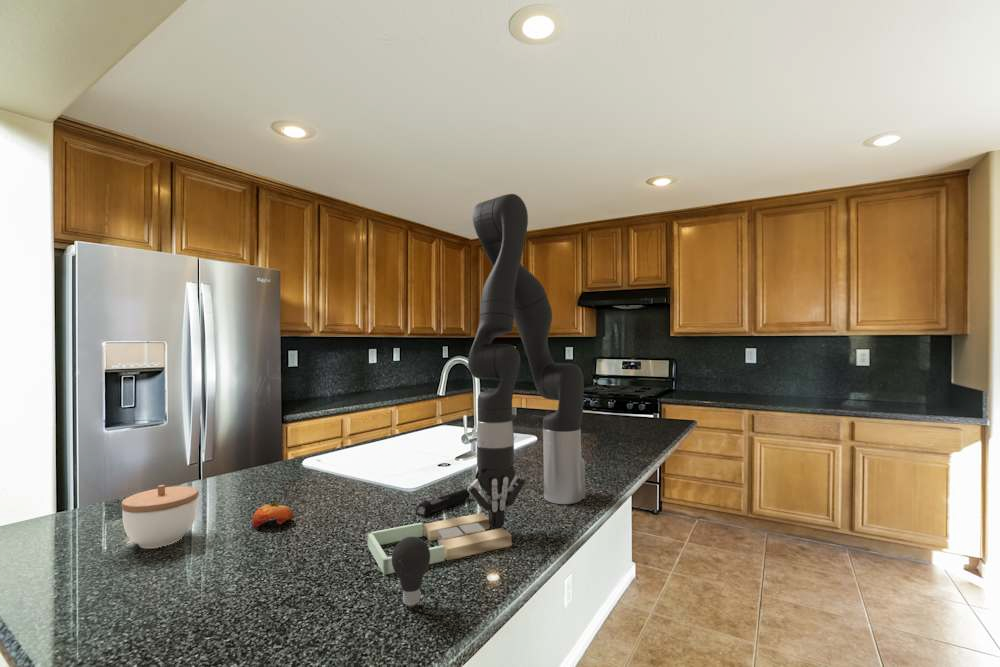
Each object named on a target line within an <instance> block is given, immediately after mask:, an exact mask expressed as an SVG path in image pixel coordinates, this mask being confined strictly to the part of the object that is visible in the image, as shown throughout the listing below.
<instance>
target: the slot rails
mask: <svg viewBox="0 0 1000 667" xmlns="http://www.w3.org/2000/svg"><path fill="white" fill-rule="evenodd" d="M473 523H478V524H479V525H481V526H482V527H483V528H484V529H485V532H480V533H475V534H471V535H466V536H461V537H457V538H452V539H447V540H443V541H440V545H443V546H444V557H445V559H446V560H447V561H452V560H455V559H460V558H464V557H468V556H472V555H473V556H474V555H477V554H482V553H485V552H490V551H494V550H499V549H503V548H507V547H512V540H513V539H512V534H511V533H510V532H508V531H507V530H505V529H504V528H503V527H502V528H499V529H490V527H491V526H490V525H489V516H486V515H485V514H484V513H482V512H479V513H474V514H470V515H469V514H468V515H465V516H464V515H463V516H459V517H454V518H449V519H443V520H438V521H433V522H428V523H422V524H423V536H425V538H426V539H427V540H428V541H430V542H433V541H437V530H442V529H447V528H453V527H457V528H458V529H459V526H462V525H467V524H473ZM440 545H439V546H440Z"/></svg>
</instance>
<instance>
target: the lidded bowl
mask: <svg viewBox="0 0 1000 667" xmlns="http://www.w3.org/2000/svg"><path fill="white" fill-rule="evenodd" d="M199 494H200V493H199V489H198V488H196V487H195V486H194V487H193V486H189V485H188V486H187V485H176V486H174V485H173V486H166V484H161V485H157V488H154V489H149V490H145V491H141V492H137V493H135V494H132V495H130V496H128V497H126V498H124V499H123V500H122V501H121V510H122V523H123V528H124V531H125V534H126V535H127V537H128V538H129V539H130V540H131V541H132V542H133V543H135V544H136V545H138V546H139V547H140V548H141V549H145V550H146V549H148V550H149V549H150V550H151V549H159V547H160V548H163V547H162V546H164V547H167V545H168V546H171V545H173V543H174V544H176V543H178V542H180V541H181V540H183V538H184V536H185V535H186V534H187V533H188V532H189V531H190V530H191V527H193V525H194V523H195V520H196V517H197V513H198V503H199V501H198V500H199ZM182 537H183V538H182ZM180 539H181V540H180ZM179 540H180V541H179ZM177 541H178V542H177ZM175 542H176V543H175ZM170 544H171V545H170Z"/></svg>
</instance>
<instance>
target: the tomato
mask: <svg viewBox="0 0 1000 667" xmlns="http://www.w3.org/2000/svg"><path fill="white" fill-rule="evenodd" d="M277 501H278V500H277V499H273V501H272V502H270V503H269V504H265V505H262V506H260V507H258V508H257V509H256V511H255V513H254V514H253V517H252V527H253V529H254V530H256V531H259V529H258V527H259V526H261V525H263V524H264V523H265V522H269V520H272V519H276V523H277V524H278V525H282V524H283V523H285V522H286V521H288V520H289V521H290V520H291V521H292V519H293V518H294V515H293V514H294V513H293V511H292V510H291V508H290V507H288V506H286V505H280V504H279V503H277ZM272 523H274V521H272Z"/></svg>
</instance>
